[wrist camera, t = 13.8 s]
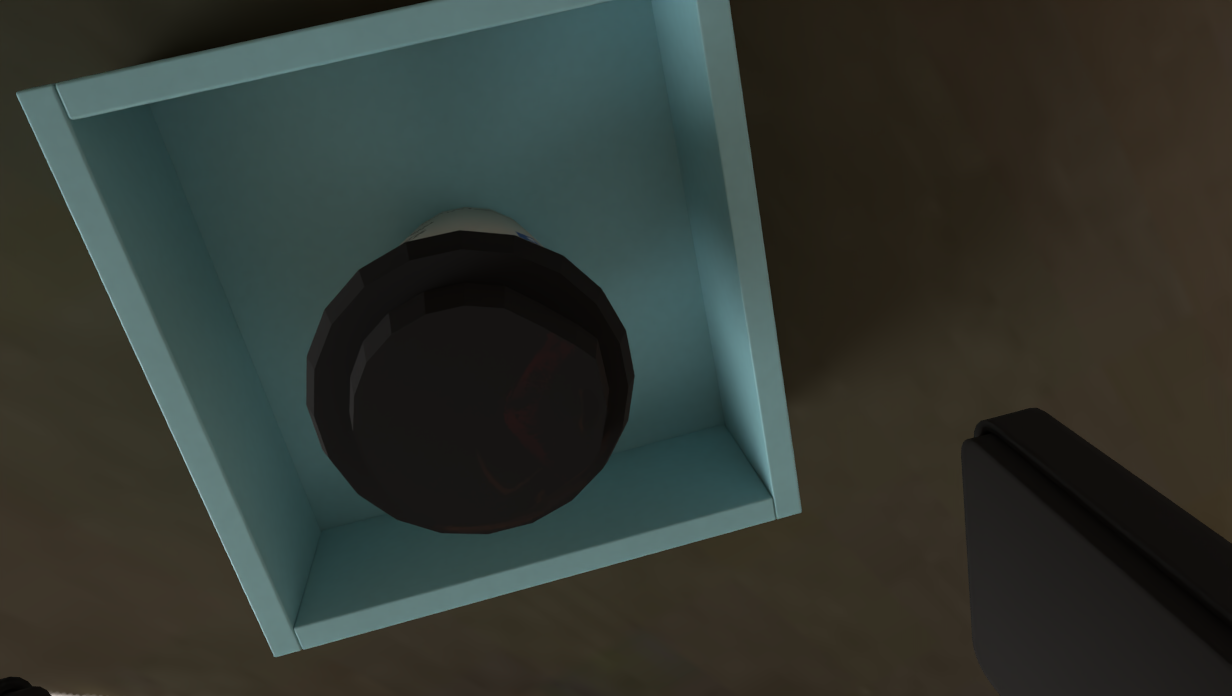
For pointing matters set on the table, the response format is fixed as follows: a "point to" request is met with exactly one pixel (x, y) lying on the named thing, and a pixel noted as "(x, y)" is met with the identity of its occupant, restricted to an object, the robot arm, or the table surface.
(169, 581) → the table surface
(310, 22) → the table surface
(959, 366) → the table surface
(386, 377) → the coffee cup
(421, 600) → the open box
